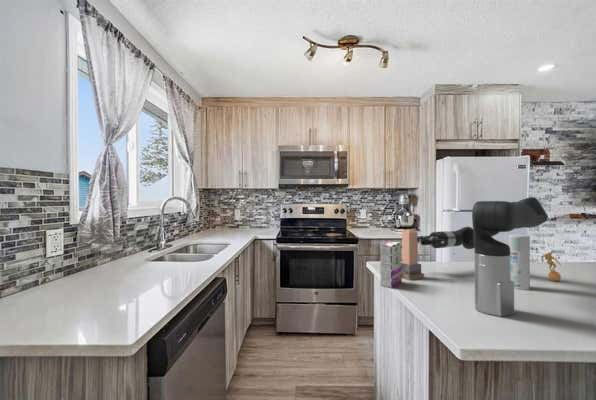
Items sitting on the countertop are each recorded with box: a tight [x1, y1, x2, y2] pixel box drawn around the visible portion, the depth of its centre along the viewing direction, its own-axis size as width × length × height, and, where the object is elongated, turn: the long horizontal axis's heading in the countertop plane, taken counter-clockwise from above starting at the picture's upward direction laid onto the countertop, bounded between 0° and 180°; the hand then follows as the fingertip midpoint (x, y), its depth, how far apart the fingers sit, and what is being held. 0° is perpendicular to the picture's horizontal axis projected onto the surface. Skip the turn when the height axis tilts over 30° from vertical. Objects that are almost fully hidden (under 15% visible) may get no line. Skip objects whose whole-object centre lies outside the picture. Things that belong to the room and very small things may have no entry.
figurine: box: [540, 251, 562, 282], centre depth 127 cm, size 8×6×12 cm
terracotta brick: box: [401, 229, 419, 265], centre depth 134 cm, size 4×4×15 cm
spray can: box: [508, 234, 531, 291], centre depth 117 cm, size 6×6×20 cm
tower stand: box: [401, 262, 425, 281], centre depth 134 cm, size 8×8×6 cm
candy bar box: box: [379, 241, 403, 289], centre depth 123 cm, size 11×5×16 cm, turn 143°
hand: (414, 241), depth 135 cm, fingers open, 8 cm apart
